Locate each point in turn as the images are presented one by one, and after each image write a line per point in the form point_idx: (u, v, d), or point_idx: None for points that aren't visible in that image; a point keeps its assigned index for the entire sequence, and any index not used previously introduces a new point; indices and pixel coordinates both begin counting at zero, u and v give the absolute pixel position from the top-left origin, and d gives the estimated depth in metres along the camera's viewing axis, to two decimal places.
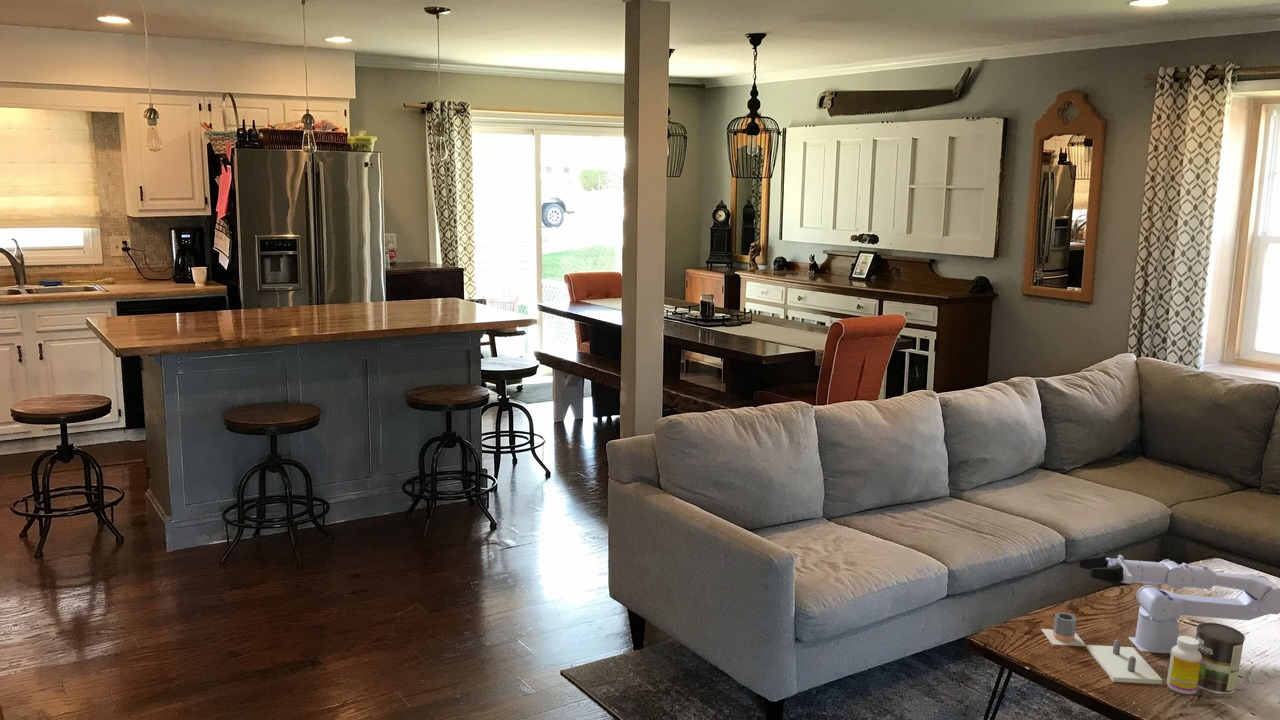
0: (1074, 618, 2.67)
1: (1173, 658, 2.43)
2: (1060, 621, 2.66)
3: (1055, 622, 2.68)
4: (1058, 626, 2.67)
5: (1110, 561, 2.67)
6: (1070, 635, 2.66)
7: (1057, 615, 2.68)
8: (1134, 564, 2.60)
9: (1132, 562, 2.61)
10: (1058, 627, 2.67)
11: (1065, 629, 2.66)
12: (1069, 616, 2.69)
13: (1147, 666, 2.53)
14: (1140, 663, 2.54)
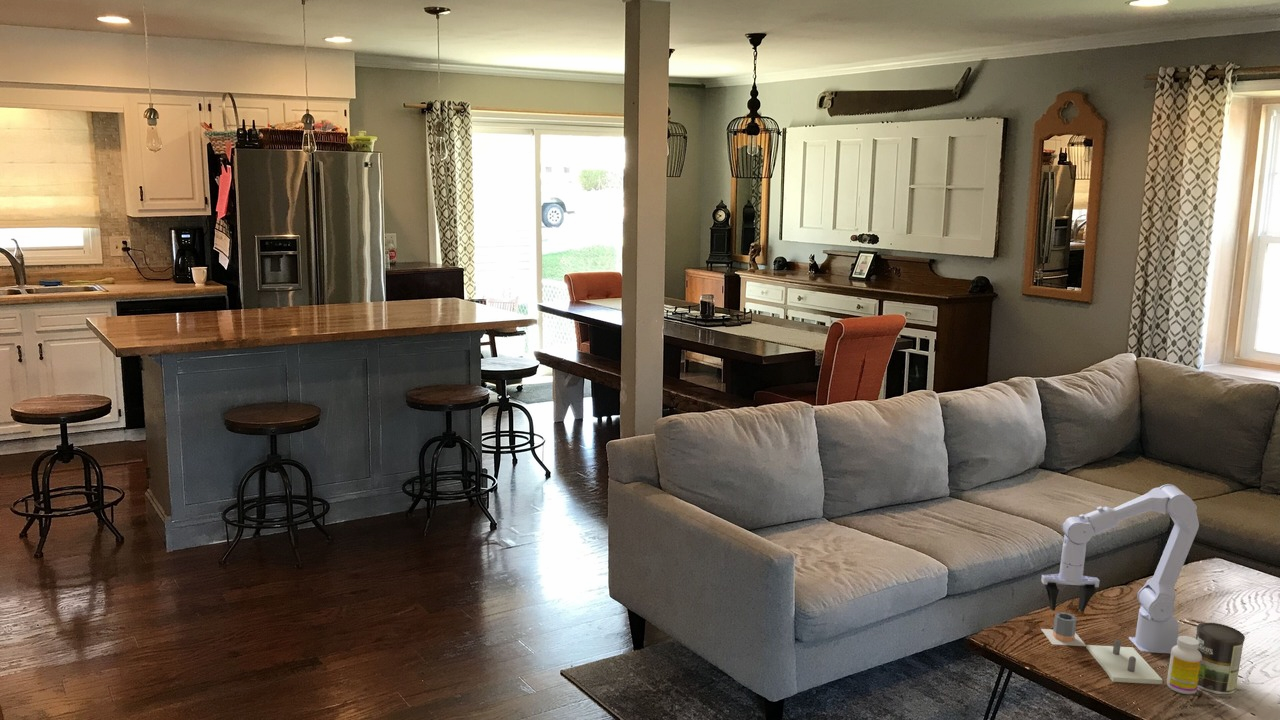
0: (1074, 618, 2.67)
1: (1173, 658, 2.43)
2: (1060, 621, 2.66)
3: (1055, 622, 2.68)
4: (1058, 626, 2.67)
5: None
6: (1070, 635, 2.66)
7: (1057, 615, 2.68)
8: None
9: None
10: (1058, 627, 2.67)
11: (1065, 629, 2.66)
12: (1069, 616, 2.69)
13: (1147, 666, 2.53)
14: (1140, 663, 2.54)
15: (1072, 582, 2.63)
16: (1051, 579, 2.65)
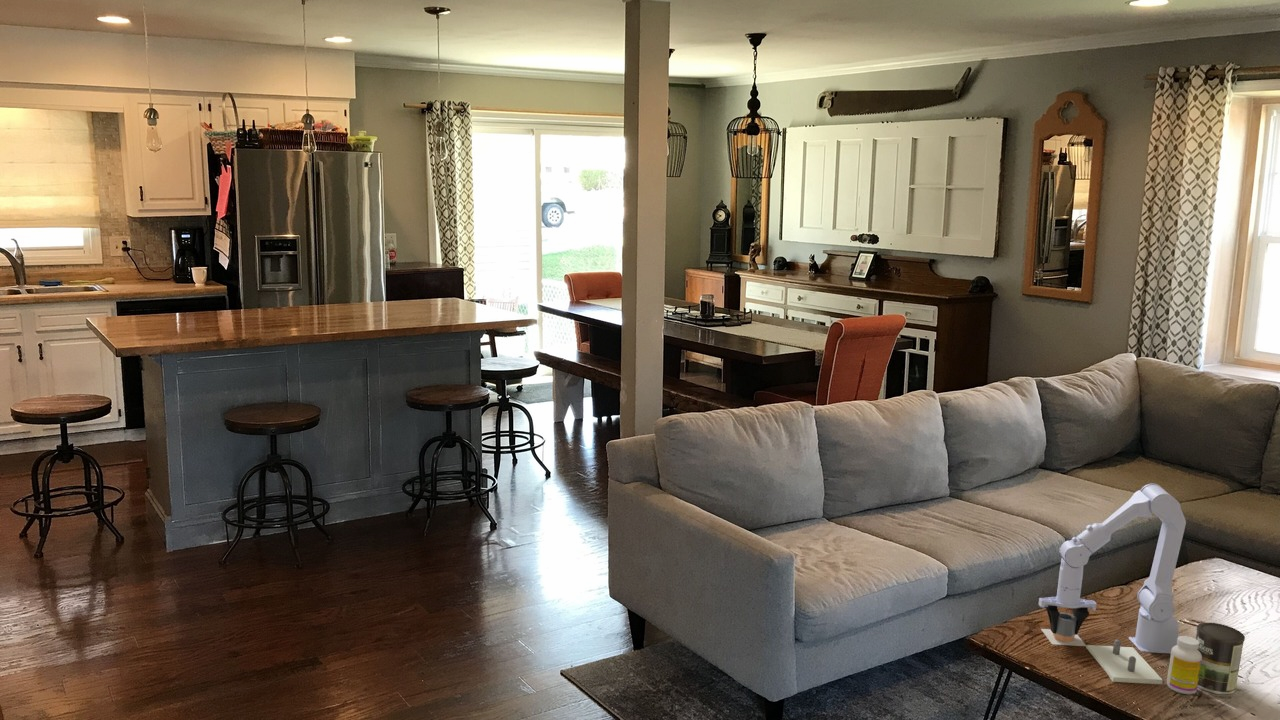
0: (1074, 618, 2.67)
1: (1173, 658, 2.43)
2: (1060, 621, 2.66)
3: None
4: (1058, 626, 2.67)
5: None
6: (1070, 635, 2.66)
7: None
8: None
9: None
10: (1058, 627, 2.67)
11: (1065, 629, 2.66)
12: (1069, 616, 2.69)
13: (1147, 666, 2.53)
14: (1140, 663, 2.54)
15: (1069, 605, 2.64)
16: (1048, 602, 2.66)
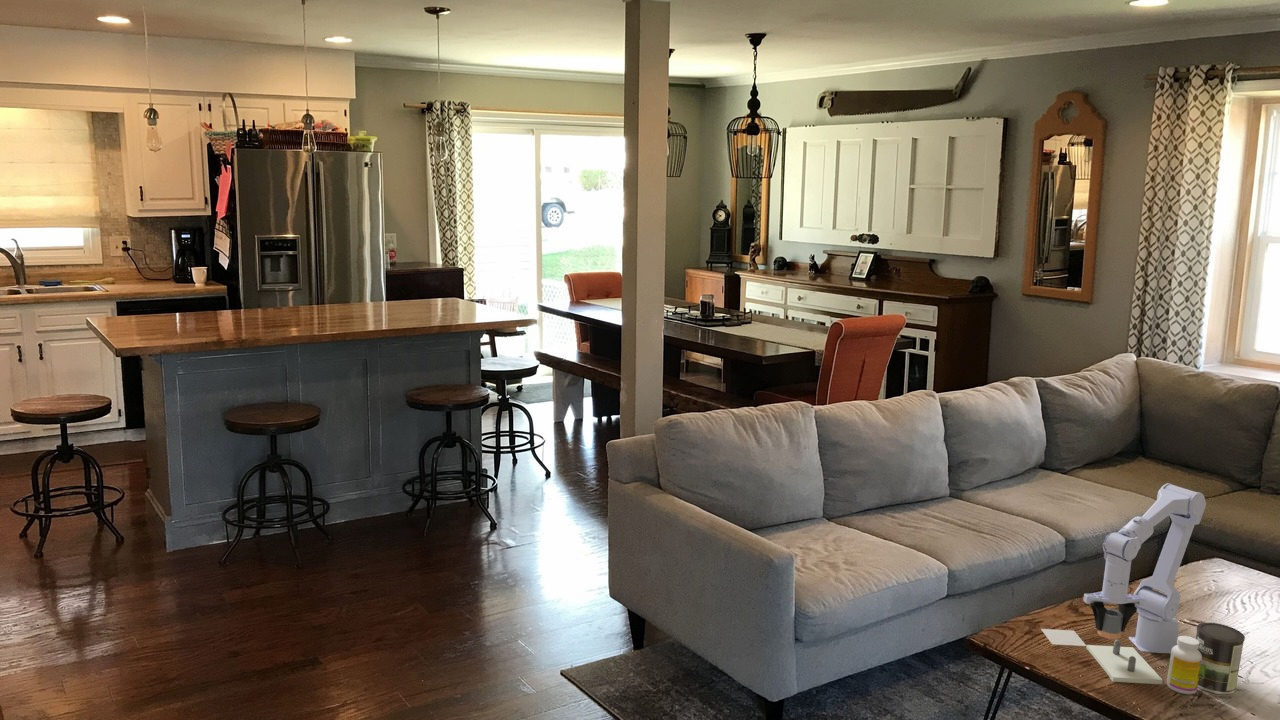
0: (1121, 614, 2.54)
1: (1173, 658, 2.43)
2: (1106, 618, 2.53)
3: None
4: (1104, 623, 2.54)
5: None
6: (1117, 632, 2.53)
7: None
8: None
9: None
10: (1104, 624, 2.54)
11: (1112, 626, 2.52)
12: (1115, 612, 2.55)
13: (1147, 666, 2.53)
14: (1140, 663, 2.54)
15: (1117, 601, 2.51)
16: (1094, 598, 2.52)
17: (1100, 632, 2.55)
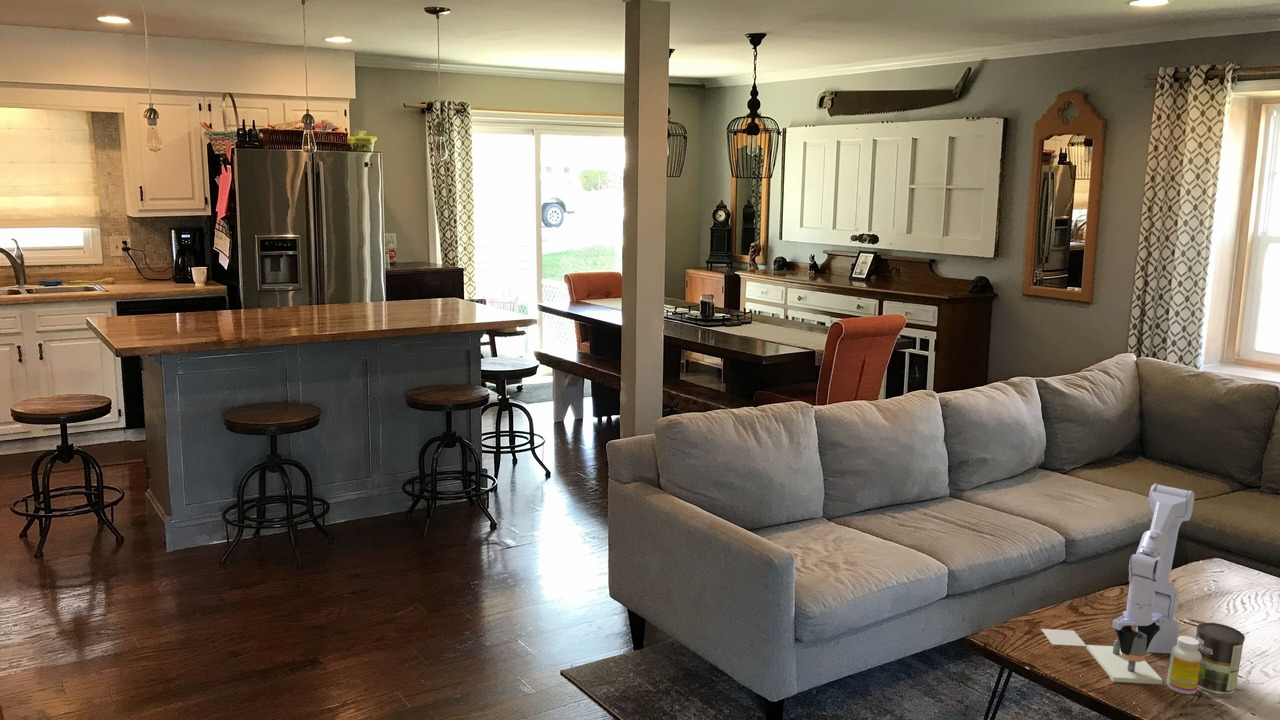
0: (1144, 635, 2.48)
1: (1173, 658, 2.43)
2: (1134, 641, 2.46)
3: None
4: (1132, 646, 2.47)
5: None
6: (1144, 654, 2.47)
7: None
8: None
9: None
10: (1132, 647, 2.47)
11: (1140, 648, 2.46)
12: None
13: (1147, 666, 2.53)
14: (1140, 663, 2.54)
15: (1146, 623, 2.45)
16: (1125, 623, 2.44)
17: (1127, 656, 2.48)
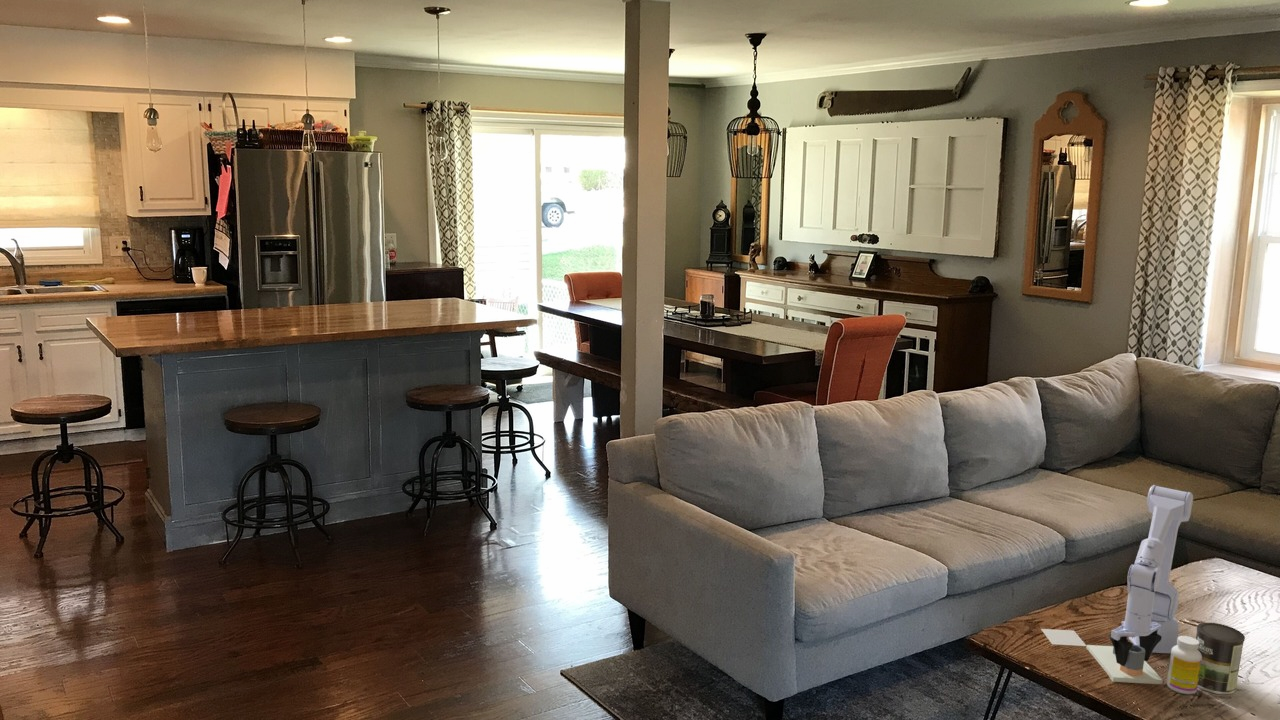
0: (1142, 649, 2.49)
1: (1173, 658, 2.43)
2: (1133, 655, 2.47)
3: None
4: (1130, 660, 2.47)
5: None
6: (1142, 667, 2.48)
7: None
8: None
9: None
10: (1130, 661, 2.48)
11: (1138, 662, 2.47)
12: (1134, 647, 2.51)
13: (1147, 666, 2.53)
14: None
15: (1144, 633, 2.45)
16: (1124, 634, 2.45)
17: (1125, 670, 2.49)
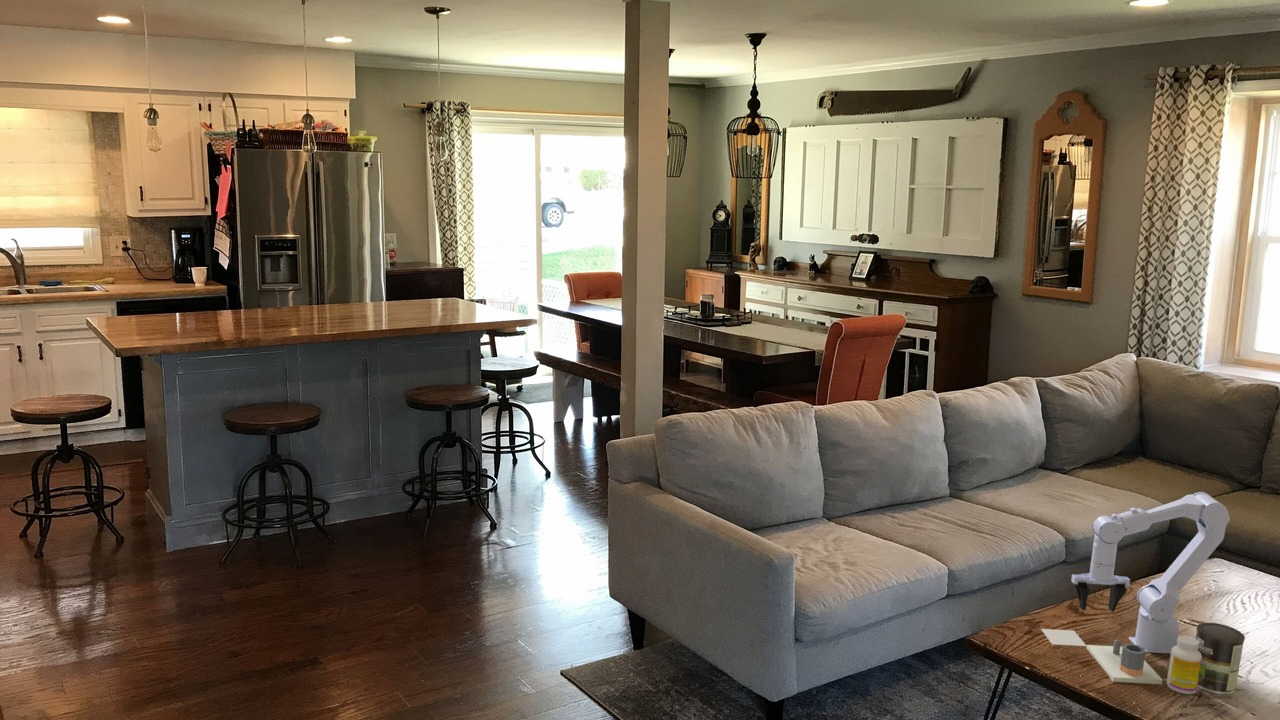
0: (1142, 649, 2.49)
1: (1173, 658, 2.43)
2: (1133, 655, 2.47)
3: (1125, 656, 2.48)
4: (1130, 660, 2.47)
5: None
6: (1142, 667, 2.48)
7: (1126, 648, 2.49)
8: None
9: None
10: (1130, 661, 2.48)
11: (1138, 662, 2.47)
12: (1134, 647, 2.51)
13: (1147, 666, 2.53)
14: None
15: (1103, 582, 2.61)
16: (1082, 579, 2.63)
17: (1125, 670, 2.49)
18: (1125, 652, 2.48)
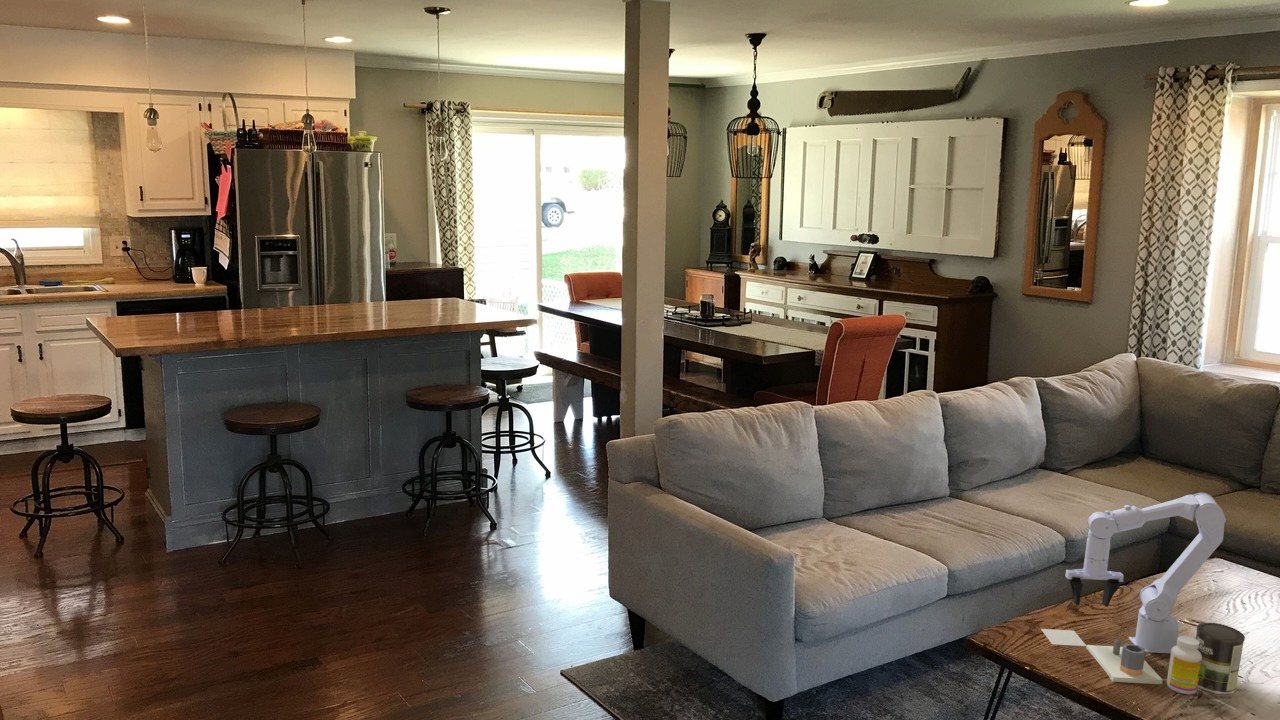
0: (1142, 649, 2.49)
1: (1173, 658, 2.43)
2: (1133, 655, 2.47)
3: (1125, 656, 2.48)
4: (1130, 660, 2.47)
5: None
6: (1142, 667, 2.48)
7: (1126, 648, 2.49)
8: None
9: None
10: (1130, 661, 2.48)
11: (1138, 662, 2.47)
12: (1134, 647, 2.51)
13: (1147, 666, 2.53)
14: None
15: (1096, 577, 2.64)
16: (1075, 574, 2.66)
17: (1125, 670, 2.49)
18: (1125, 652, 2.48)
